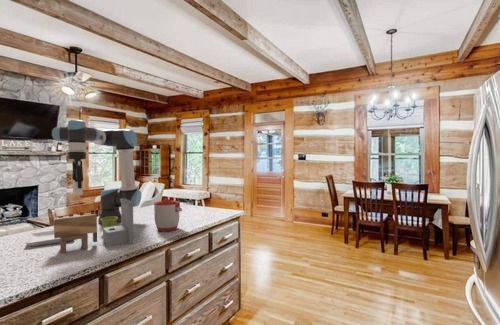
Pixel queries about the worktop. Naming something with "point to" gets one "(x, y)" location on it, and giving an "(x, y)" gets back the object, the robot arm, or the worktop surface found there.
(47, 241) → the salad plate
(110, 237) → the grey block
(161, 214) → the citrus juicer
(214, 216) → the worktop surface
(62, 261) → the worktop surface
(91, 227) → the wooden board
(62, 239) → the trestle
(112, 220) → the plant pot
